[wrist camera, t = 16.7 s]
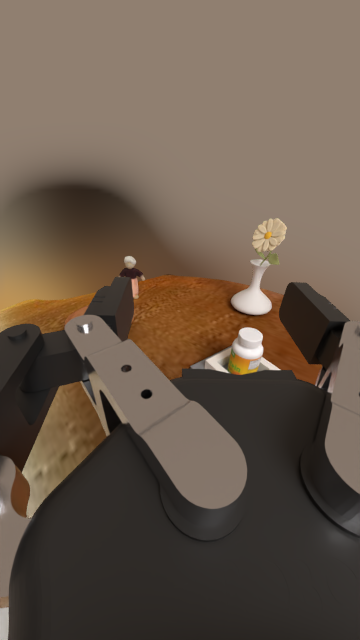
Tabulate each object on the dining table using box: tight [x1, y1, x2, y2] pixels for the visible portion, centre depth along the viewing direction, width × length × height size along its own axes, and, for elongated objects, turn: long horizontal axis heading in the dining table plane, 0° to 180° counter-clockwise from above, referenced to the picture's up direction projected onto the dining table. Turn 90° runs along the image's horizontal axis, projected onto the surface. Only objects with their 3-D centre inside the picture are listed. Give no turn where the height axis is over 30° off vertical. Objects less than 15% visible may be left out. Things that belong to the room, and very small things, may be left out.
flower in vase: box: [231, 218, 287, 315], centre depth 61 cm, size 13×11×25 cm
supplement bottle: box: [227, 328, 263, 375], centre depth 43 cm, size 5×5×10 cm
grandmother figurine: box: [119, 256, 145, 299], centre depth 68 cm, size 8×4×13 cm, turn 105°
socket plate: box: [190, 346, 280, 373], centre depth 45 cm, size 14×14×3 cm
